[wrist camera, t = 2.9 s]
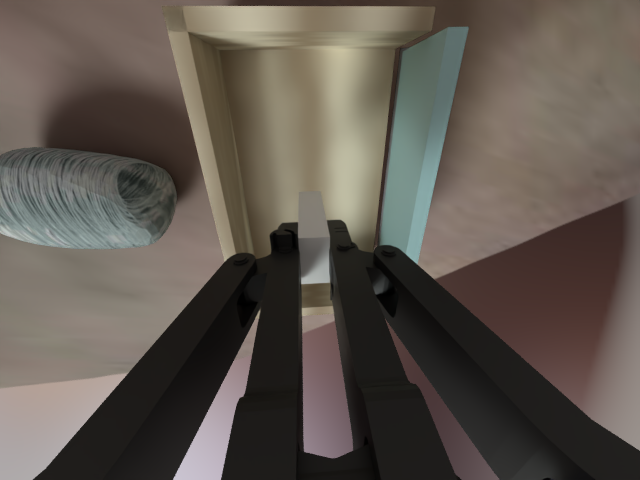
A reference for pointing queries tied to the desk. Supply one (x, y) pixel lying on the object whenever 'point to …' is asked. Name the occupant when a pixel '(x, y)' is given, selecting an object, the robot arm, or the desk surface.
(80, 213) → the spool
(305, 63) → the crate
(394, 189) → the cabinet door
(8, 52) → the desk surface
